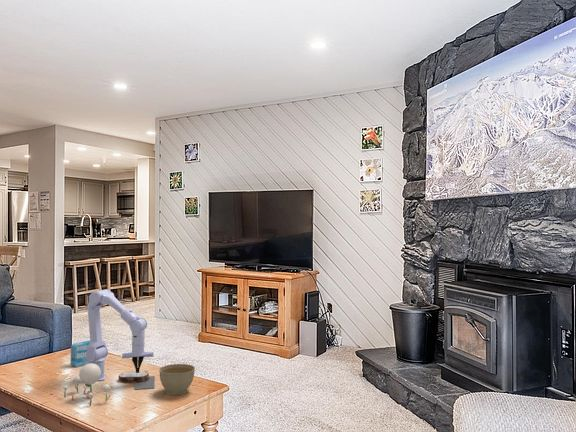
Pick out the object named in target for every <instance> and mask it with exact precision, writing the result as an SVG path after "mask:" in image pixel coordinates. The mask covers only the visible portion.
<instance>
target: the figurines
mask: <svg viewBox="0 0 576 432" xmlns="http://www.w3.org/2000/svg"><path fill="white" fill-rule="evenodd" d="M100 376H101V369H100V367H99V366H98V365H96V364H93V363H90V364H86V365H85V366H81V369H80V370H79V374H78V375H77V376H75V377H74V378H73V382H74V388H75V390H76V393H79V385H78V384H81V383H83V384H84V386H85V387H84V386H83V387H82V388H83V389H84V390H83V395H85V397H86V398H87V399H89V407H91V406H92V403H93V401H92V398H93V397H94V391H93V390H92V389H93V387H92V385H94V384H96V383H97V382H99V381H98V380H99V378H100ZM88 388H89V390H88V391H87V392H86V389H88ZM62 389H63V391H64V392H63V397H64V398H66V397H67V394H66V392H67V391H66V390H68V385H63V388H62ZM101 389H102V391H103V393H105V398H104V399H105V400H104V402H105V403H107V402H108V400H109V398H110V397H111V395H109V396H108V392H110V391H111V385H110V384H107V383H106V384H104V385H103V386H102V388H101ZM74 396H75V395H74V392H71V401H74V400H75V399H74Z"/></svg>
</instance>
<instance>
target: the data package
mask: <svg viewBox="0 0 576 432" xmlns="http://www.w3.org/2000/svg"><path fill="white" fill-rule="evenodd" d="M89 343H90V340H84V341H81V342H79V341H78V342H75V343H73V344H71V346H70V365H71V366H72V367H75V368H80V367H83V366H84V364H85V362H86V361H88V360H87V358H86V352H87V346H88V345H89Z"/></svg>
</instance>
